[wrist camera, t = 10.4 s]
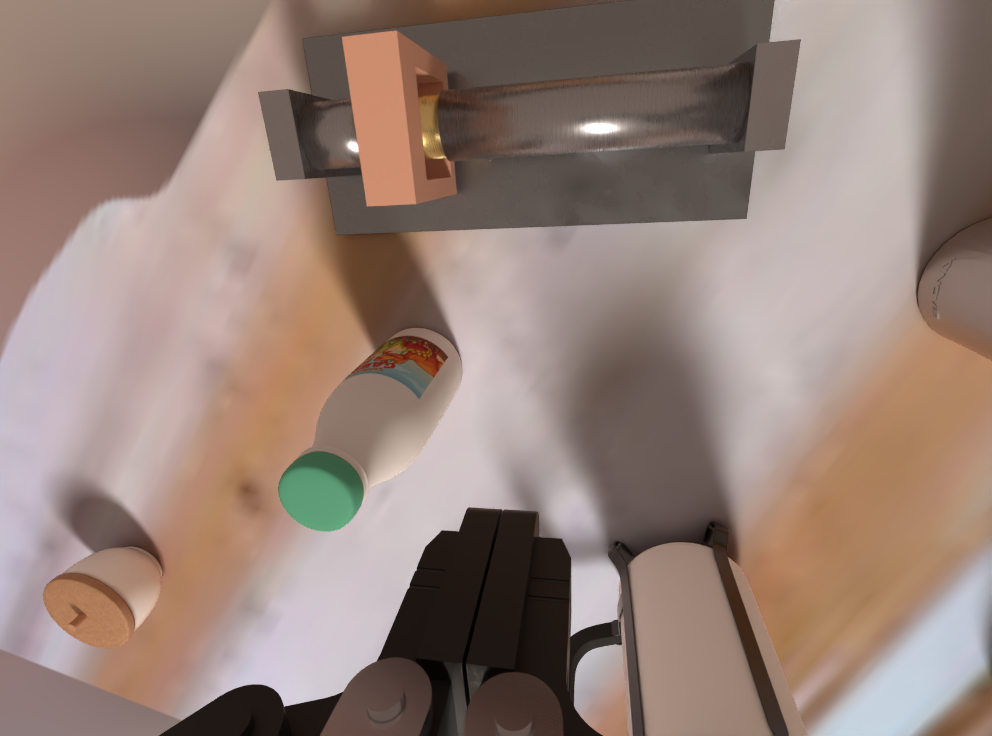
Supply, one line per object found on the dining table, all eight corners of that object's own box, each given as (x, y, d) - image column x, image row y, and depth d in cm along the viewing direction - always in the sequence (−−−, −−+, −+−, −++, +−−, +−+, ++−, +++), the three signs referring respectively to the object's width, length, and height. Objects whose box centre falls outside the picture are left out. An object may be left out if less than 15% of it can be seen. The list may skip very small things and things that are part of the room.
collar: (446, 64, 34) (396, 30, 25) (456, 193, 37) (416, 204, 28) (404, 68, 34) (341, 36, 26) (418, 195, 38) (366, 206, 29)
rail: (773, -14, 31) (841, -78, 23) (744, 217, 36) (790, 234, 28) (306, 40, 37) (223, 4, 28) (339, 233, 42) (278, 251, 34)
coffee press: (645, 482, 46) (728, 944, 19) (794, 560, 47) (1082, 1120, 19) (555, 594, 53) (521, 1047, 26) (684, 661, 54) (783, 1174, 27)
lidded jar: (192, 596, 64) (131, 663, 56) (125, 596, 66) (57, 660, 58) (157, 530, 60) (87, 590, 52) (88, 532, 63) (9, 590, 54)
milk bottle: (481, 367, 45) (408, 508, 26) (428, 418, 48) (330, 577, 29) (417, 307, 43) (294, 413, 25) (367, 364, 46) (225, 494, 28)
